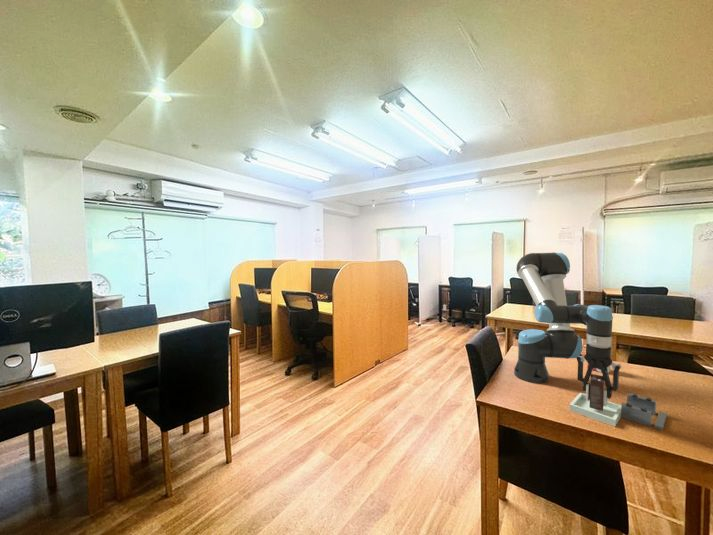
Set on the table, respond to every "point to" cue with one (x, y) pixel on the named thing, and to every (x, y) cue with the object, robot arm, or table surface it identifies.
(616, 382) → the robot arm
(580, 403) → the tray
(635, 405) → the hitch bracket
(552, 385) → the table surface
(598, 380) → the box
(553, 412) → the table surface
